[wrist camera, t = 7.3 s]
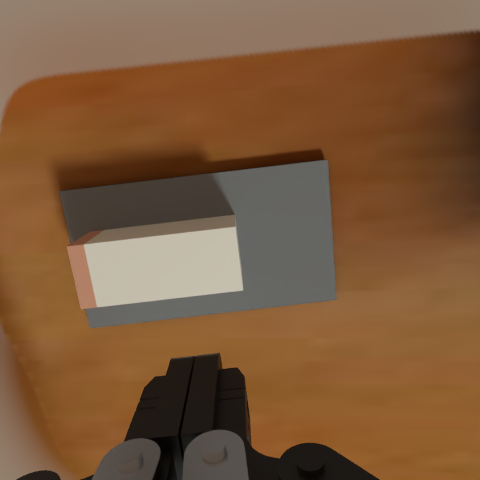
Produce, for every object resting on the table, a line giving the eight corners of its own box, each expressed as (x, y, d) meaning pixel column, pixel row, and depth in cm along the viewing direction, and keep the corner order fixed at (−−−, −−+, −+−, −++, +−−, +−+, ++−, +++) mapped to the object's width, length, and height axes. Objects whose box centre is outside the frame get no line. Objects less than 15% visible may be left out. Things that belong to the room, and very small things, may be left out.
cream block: (235, 226, 24) (66, 246, 24) (243, 290, 25) (81, 309, 25) (235, 214, 28) (89, 231, 28) (241, 270, 29) (101, 286, 29)
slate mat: (326, 159, 27) (327, 159, 27) (334, 297, 30) (336, 299, 29) (62, 190, 27) (59, 191, 27) (92, 325, 30) (89, 328, 29)
